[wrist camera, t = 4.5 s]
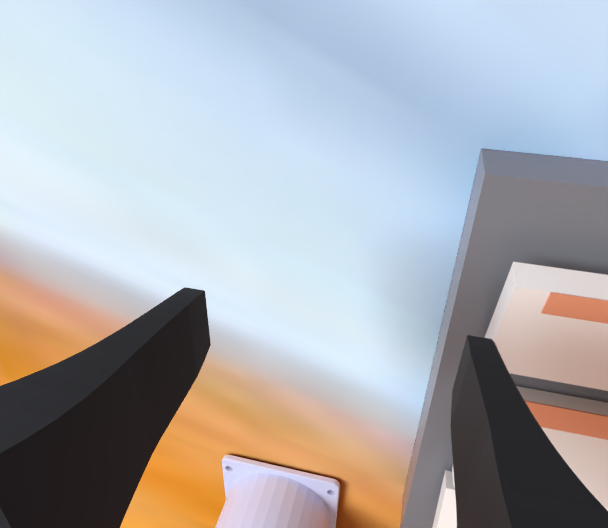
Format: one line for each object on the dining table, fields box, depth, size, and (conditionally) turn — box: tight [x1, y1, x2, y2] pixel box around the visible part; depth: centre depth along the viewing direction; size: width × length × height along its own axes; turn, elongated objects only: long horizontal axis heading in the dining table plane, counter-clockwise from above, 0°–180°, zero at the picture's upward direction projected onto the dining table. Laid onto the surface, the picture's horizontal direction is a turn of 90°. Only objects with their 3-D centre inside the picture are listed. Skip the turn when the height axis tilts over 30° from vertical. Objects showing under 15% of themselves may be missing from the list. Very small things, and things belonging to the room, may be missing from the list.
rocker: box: [452, 386, 608, 511], centre depth 21 cm, size 5×9×1 cm, turn 89°
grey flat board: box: [400, 149, 608, 528], centre depth 22 cm, size 30×12×2 cm, turn 179°
